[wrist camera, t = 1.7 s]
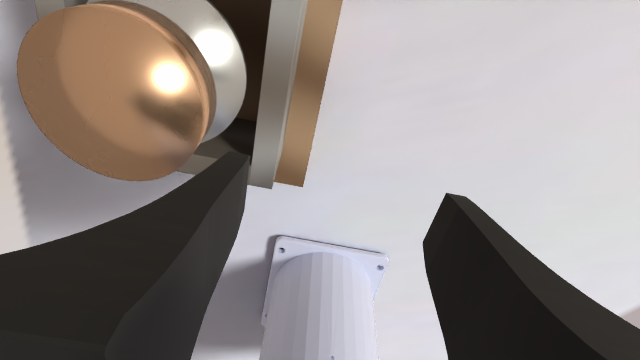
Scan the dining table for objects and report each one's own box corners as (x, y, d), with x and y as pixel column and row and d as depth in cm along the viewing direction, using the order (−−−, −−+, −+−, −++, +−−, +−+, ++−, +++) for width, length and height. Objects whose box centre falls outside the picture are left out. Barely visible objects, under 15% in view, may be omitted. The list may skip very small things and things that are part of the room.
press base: (304, 174, 23) (295, 237, 18) (106, 135, 22) (37, 190, 17) (363, -105, 16) (376, -132, 11) (71, -179, 15) (-69, -248, 10)
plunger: (239, 155, 15) (214, 209, 12) (91, 126, 15) (23, 174, 12) (255, -3, 12) (226, 14, 9) (68, -45, 12) (-33, -44, 9)
